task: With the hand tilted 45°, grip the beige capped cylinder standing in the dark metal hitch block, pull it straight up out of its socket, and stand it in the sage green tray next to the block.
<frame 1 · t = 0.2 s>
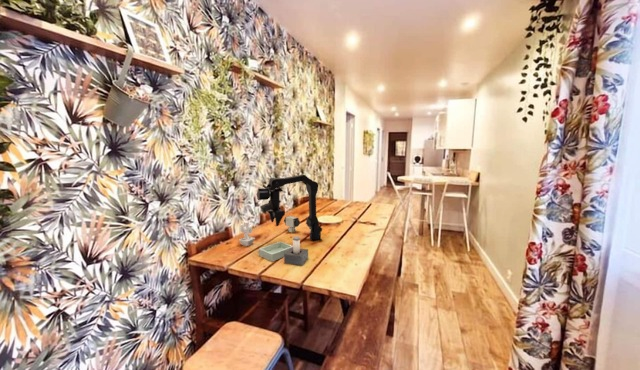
hand: (274, 224, 158), 15 cm above the table, tool pointing down, fingers open, 9 cm apart
tray: (276, 254, 148), on the table
pneumatic valve: (292, 231, 189), on the table
beige capped cylinder: (296, 249, 139), in the hitch block
hitch block: (296, 260, 140), on the table
figurine: (246, 244, 163), on the table
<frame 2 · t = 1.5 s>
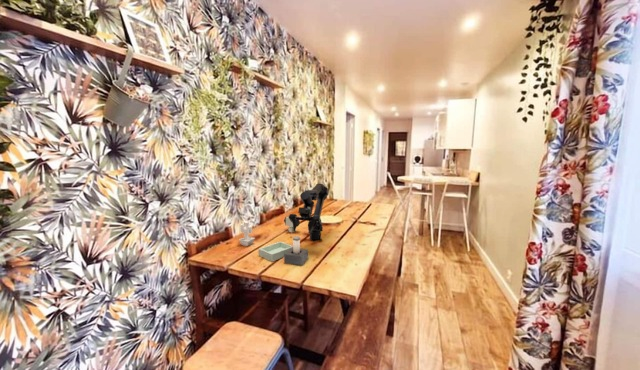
hand: (301, 232, 146), 13 cm above the table, tool tilted 45°, fingers open, 9 cm apart
nothing on the table moved.
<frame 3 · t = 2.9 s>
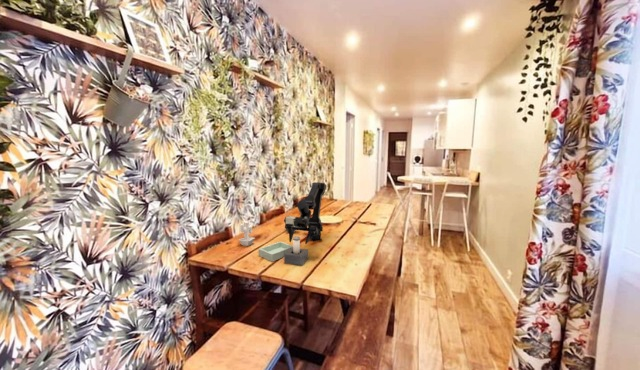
hand: (297, 242, 141), 9 cm above the table, tool tilted 45°, fingers open, 9 cm apart
nothing on the table moved.
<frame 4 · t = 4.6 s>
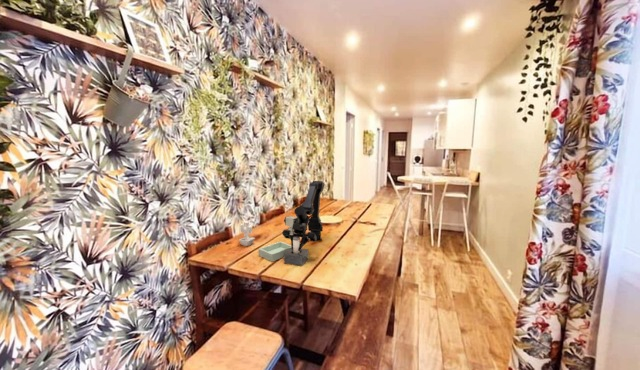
hand: (295, 249, 138), 7 cm above the table, tool tilted 45°, fingers closed on beige capped cylinder, 4 cm apart
beige capped cylinder: (296, 249, 139), in the hitch block, touching gripper
everything else where it was.
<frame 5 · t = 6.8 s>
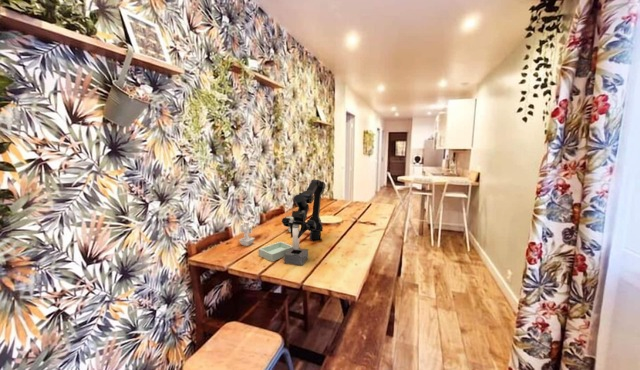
hand: (294, 237, 137), 13 cm above the table, tool tilted 45°, fingers closed on beige capped cylinder, 4 cm apart
beige capped cylinder: (295, 236, 138), point 13 cm above the table, touching gripper
everything else where it was.
when the fingers open (9 cm above the table, at t = 9.4 s): beige capped cylinder drops 1 cm, resting on tray.
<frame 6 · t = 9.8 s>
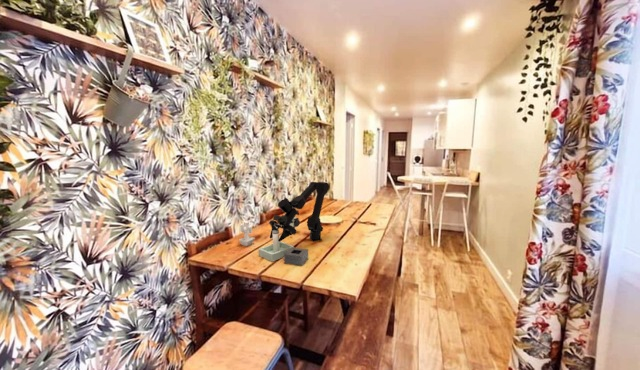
hand: (274, 239, 146), 9 cm above the table, tool tilted 45°, fingers open, 7 cm apart
beige capped cylinder: (276, 241, 147), in the tray, point 8 cm above the table
everything else where it was.
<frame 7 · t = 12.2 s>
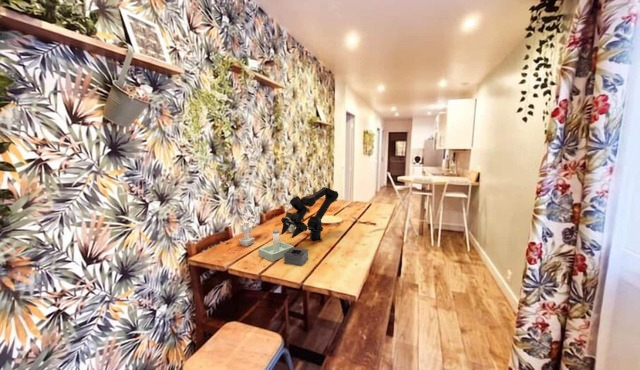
hand: (286, 235, 153), 9 cm above the table, tool tilted 45°, fingers open, 9 cm apart
nothing on the table moved.
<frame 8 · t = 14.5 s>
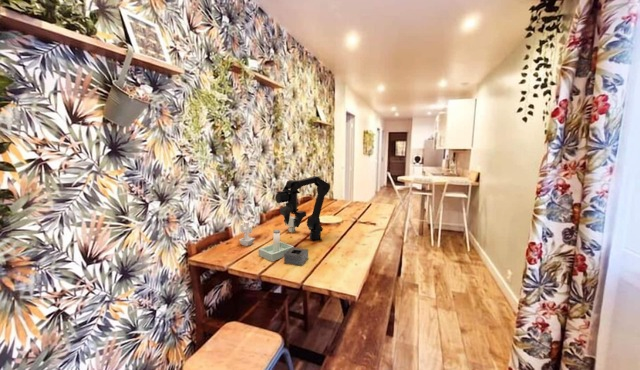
hand: (292, 225, 160), 13 cm above the table, tool pointing down, fingers open, 9 cm apart
nothing on the table moved.
at the end: beige capped cylinder inside the target area on the tray (0.0 cm from its centre), point 7.5 cm above the tray's base; beige capped cylinder tilted 1°; the gripper is holding nothing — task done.
